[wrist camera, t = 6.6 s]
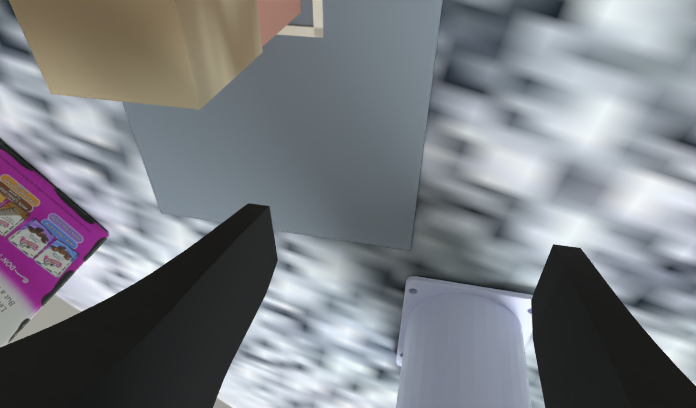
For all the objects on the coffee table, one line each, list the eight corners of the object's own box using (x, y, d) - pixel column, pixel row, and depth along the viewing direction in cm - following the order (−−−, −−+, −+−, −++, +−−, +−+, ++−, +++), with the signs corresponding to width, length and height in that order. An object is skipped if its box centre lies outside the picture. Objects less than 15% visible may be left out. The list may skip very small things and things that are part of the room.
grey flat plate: (410, 248, 25) (410, 251, 25) (162, 211, 28) (160, 214, 28) (473, -238, 13) (473, -240, 12) (14, -222, 15) (7, -223, 15)
